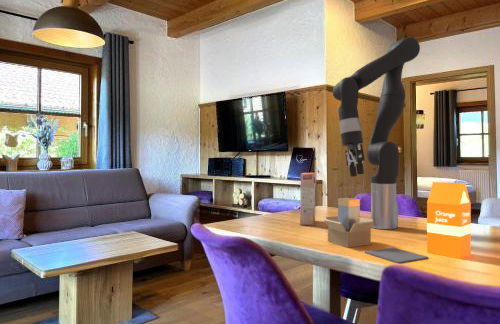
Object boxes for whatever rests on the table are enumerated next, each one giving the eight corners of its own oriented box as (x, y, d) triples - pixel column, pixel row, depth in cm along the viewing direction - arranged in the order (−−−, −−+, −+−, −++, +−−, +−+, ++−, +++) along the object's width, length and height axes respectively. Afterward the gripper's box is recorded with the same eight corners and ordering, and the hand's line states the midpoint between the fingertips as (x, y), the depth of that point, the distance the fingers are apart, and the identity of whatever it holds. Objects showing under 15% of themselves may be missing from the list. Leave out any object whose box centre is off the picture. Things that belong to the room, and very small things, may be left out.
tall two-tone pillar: (349, 240, 122) (349, 197, 122) (359, 243, 117) (359, 199, 117) (338, 242, 120) (338, 198, 120) (348, 245, 115) (348, 200, 115)
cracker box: (314, 226, 149) (314, 173, 149) (299, 225, 150) (299, 173, 150) (315, 220, 163) (315, 172, 162) (301, 220, 164) (301, 172, 164)
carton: (350, 236, 128) (350, 214, 128) (381, 245, 115) (381, 220, 115) (318, 240, 122) (318, 217, 122) (346, 249, 109) (346, 224, 109)
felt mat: (393, 248, 111) (393, 247, 111) (428, 258, 100) (428, 256, 100) (364, 252, 106) (364, 251, 106) (398, 263, 95) (398, 261, 95)
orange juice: (438, 248, 111) (438, 181, 111) (471, 254, 104) (471, 182, 104) (426, 253, 106) (426, 182, 106) (460, 259, 99) (460, 184, 99)
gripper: (367, 126, 131) (373, 172, 129) (355, 134, 146) (361, 176, 143) (346, 128, 131) (352, 174, 129) (336, 136, 145) (341, 178, 143)
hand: (357, 175), depth 136 cm, fingers open, 8 cm apart
